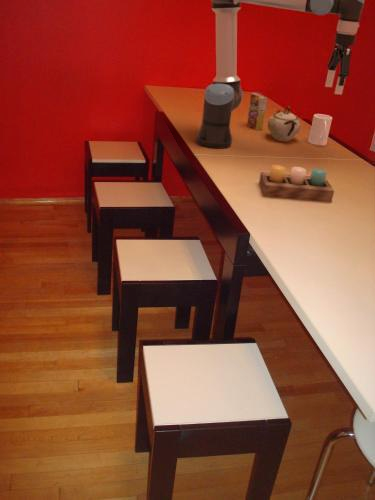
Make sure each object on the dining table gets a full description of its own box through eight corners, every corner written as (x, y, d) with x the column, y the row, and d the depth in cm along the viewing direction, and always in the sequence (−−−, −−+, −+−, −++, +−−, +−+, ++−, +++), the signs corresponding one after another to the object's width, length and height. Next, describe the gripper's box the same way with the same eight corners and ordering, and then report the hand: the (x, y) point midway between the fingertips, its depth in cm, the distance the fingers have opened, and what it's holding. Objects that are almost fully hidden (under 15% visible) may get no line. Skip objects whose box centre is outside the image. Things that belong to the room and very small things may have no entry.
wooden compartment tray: (263, 196, 165) (265, 185, 163) (259, 182, 176) (260, 172, 174) (331, 201, 166) (334, 190, 164) (323, 188, 177) (325, 177, 175)
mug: (329, 148, 220) (335, 121, 214) (310, 146, 220) (316, 119, 214) (324, 140, 230) (330, 115, 224) (306, 138, 230) (312, 113, 224)
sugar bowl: (305, 146, 220) (312, 112, 213) (273, 145, 217) (280, 110, 210) (289, 132, 237) (295, 100, 230) (259, 131, 234) (264, 99, 226)
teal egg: (310, 186, 167) (314, 173, 165) (308, 181, 172) (311, 167, 169) (324, 188, 168) (328, 174, 165) (321, 182, 172) (324, 169, 169)
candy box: (245, 124, 242) (250, 92, 235) (253, 124, 244) (258, 92, 237) (254, 130, 235) (260, 97, 228) (262, 130, 237) (268, 97, 230)
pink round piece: (290, 185, 167) (293, 171, 165) (287, 179, 171) (290, 166, 169) (304, 186, 167) (307, 172, 165) (301, 181, 172) (304, 167, 169)
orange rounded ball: (269, 183, 167) (272, 169, 164) (267, 178, 171) (270, 164, 169) (283, 184, 167) (286, 170, 165) (281, 179, 171) (284, 165, 169)
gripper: (367, 38, 179) (352, 98, 189) (345, 30, 201) (333, 84, 211) (346, 36, 178) (332, 96, 189) (327, 28, 200) (315, 83, 210)
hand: (333, 90), depth 200 cm, fingers open, 13 cm apart
